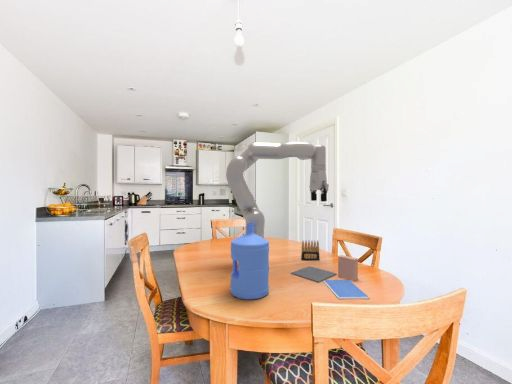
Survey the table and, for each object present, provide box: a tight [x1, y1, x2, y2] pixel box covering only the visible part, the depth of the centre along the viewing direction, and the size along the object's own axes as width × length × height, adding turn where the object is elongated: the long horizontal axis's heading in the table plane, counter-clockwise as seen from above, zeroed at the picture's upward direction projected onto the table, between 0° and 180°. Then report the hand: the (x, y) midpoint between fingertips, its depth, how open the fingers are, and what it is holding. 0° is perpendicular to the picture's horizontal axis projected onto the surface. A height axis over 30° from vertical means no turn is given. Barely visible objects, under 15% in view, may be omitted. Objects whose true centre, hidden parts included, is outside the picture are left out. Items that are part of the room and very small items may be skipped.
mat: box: [290, 265, 338, 283], centre depth 123 cm, size 16×16×1 cm
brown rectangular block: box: [337, 254, 359, 282], centre depth 118 cm, size 4×8×10 cm, turn 43°
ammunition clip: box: [300, 239, 321, 262], centre depth 149 cm, size 11×2×12 cm, turn 90°
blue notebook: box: [322, 279, 370, 300], centre depth 105 cm, size 19×13×1 cm, turn 2°
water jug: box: [229, 222, 270, 300], centre depth 101 cm, size 16×16×28 cm
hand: (318, 201), depth 132 cm, fingers open, 9 cm apart
